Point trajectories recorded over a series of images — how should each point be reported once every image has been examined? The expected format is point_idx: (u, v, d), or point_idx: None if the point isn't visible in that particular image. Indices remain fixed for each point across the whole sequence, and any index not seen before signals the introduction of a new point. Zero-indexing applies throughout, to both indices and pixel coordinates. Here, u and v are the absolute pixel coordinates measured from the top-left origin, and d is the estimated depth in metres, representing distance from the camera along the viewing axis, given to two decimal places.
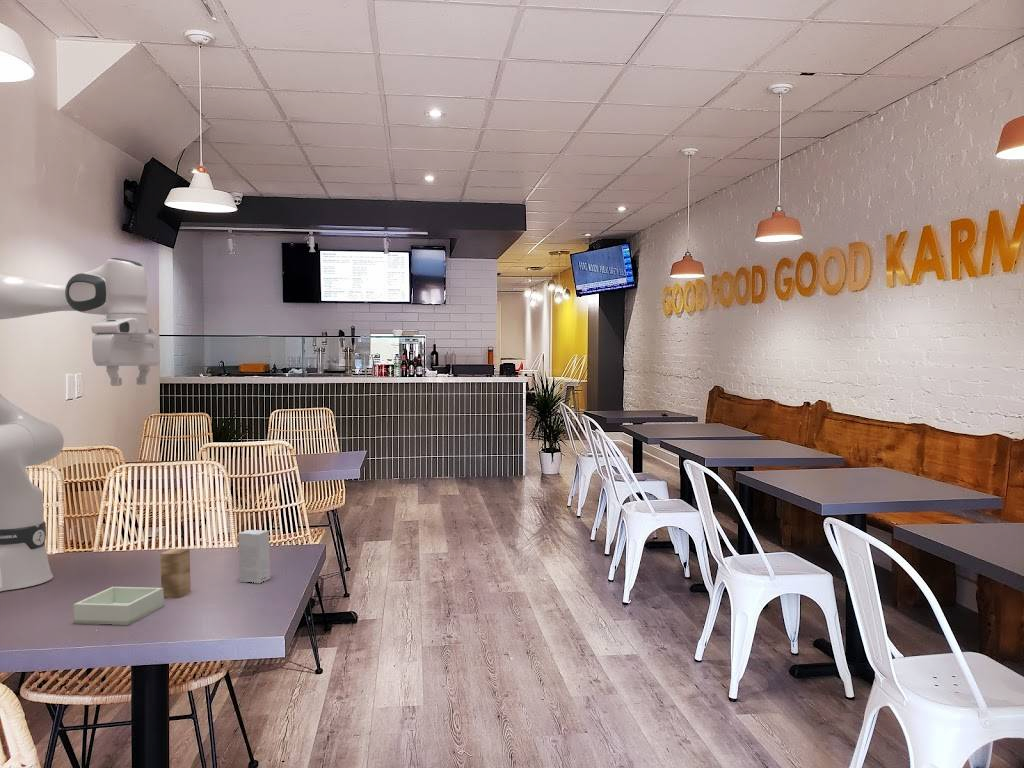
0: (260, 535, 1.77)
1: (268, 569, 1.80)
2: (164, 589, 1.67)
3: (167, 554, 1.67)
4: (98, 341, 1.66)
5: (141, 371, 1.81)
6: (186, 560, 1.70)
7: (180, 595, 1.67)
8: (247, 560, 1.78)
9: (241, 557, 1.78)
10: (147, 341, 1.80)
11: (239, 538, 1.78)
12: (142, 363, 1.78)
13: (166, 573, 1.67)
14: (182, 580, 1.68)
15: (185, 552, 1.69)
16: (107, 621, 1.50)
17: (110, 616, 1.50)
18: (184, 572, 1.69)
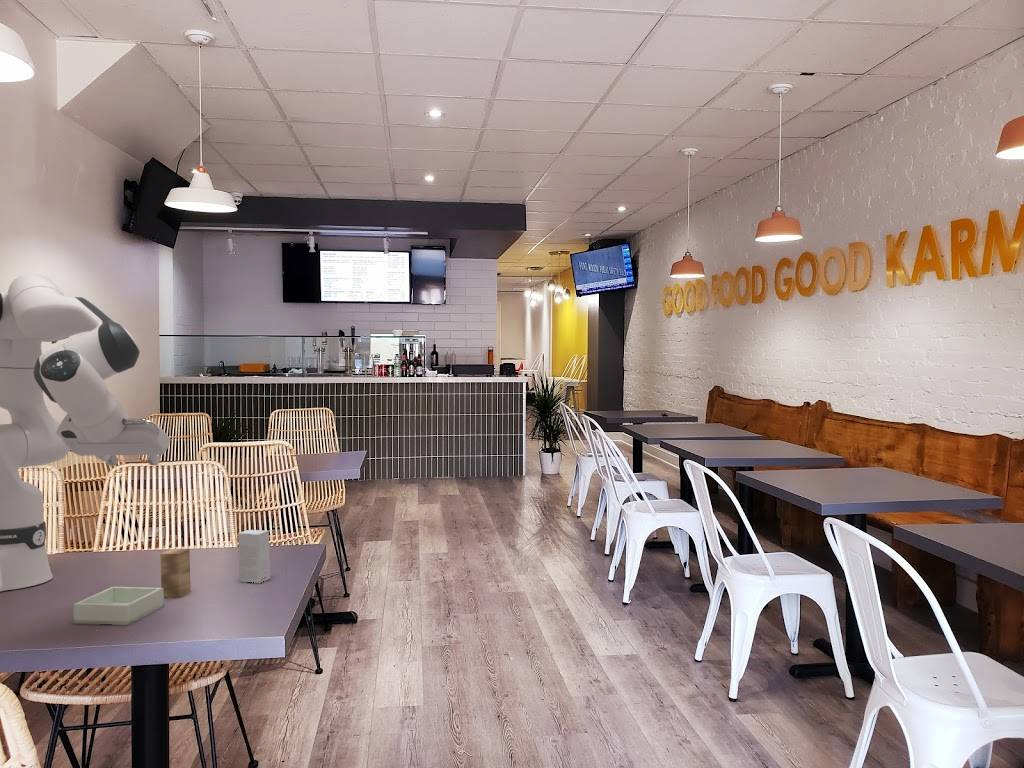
0: (260, 535, 1.77)
1: (268, 569, 1.80)
2: (164, 589, 1.67)
3: (167, 554, 1.67)
4: None
5: None
6: (186, 560, 1.70)
7: (180, 595, 1.67)
8: (247, 560, 1.78)
9: (241, 557, 1.78)
10: (128, 437, 1.47)
11: (239, 538, 1.78)
12: (131, 454, 1.51)
13: (166, 573, 1.67)
14: (182, 580, 1.68)
15: (185, 552, 1.69)
16: (107, 621, 1.50)
17: (110, 616, 1.50)
18: (184, 572, 1.69)
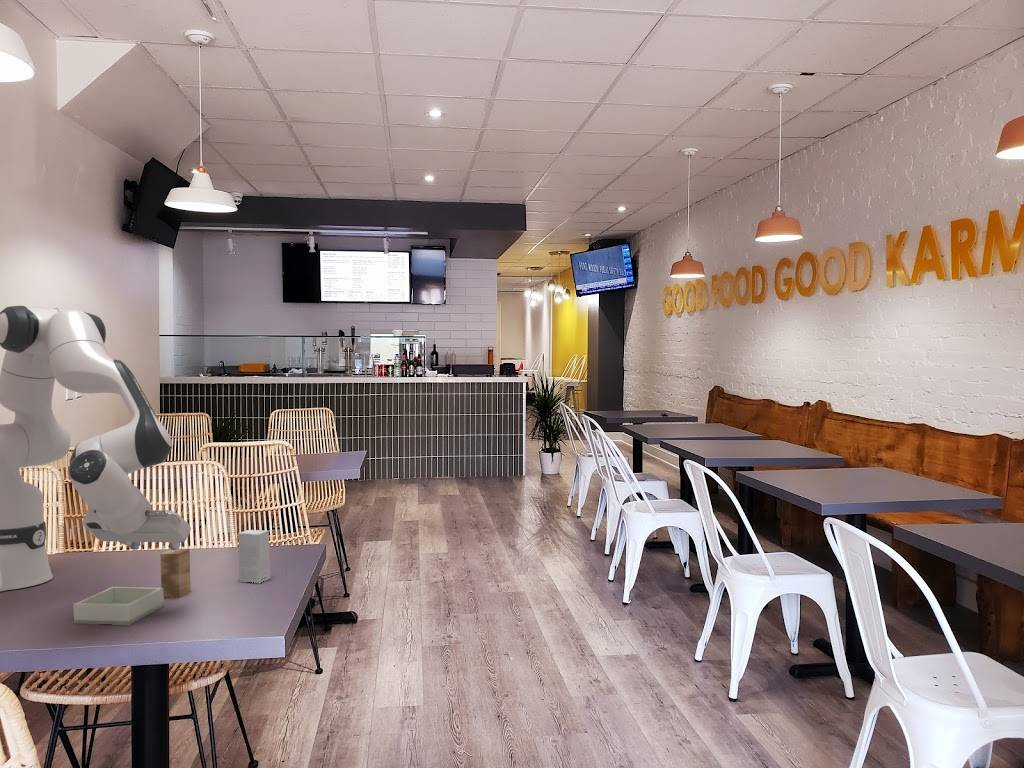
0: (260, 535, 1.77)
1: (268, 569, 1.80)
2: (164, 589, 1.67)
3: (167, 554, 1.67)
4: None
5: None
6: (186, 560, 1.70)
7: (180, 595, 1.67)
8: (247, 560, 1.78)
9: (241, 557, 1.78)
10: (151, 528, 1.53)
11: (239, 538, 1.78)
12: (153, 541, 1.57)
13: (166, 573, 1.67)
14: (182, 580, 1.68)
15: (185, 552, 1.69)
16: (107, 621, 1.50)
17: (110, 616, 1.50)
18: (184, 572, 1.69)
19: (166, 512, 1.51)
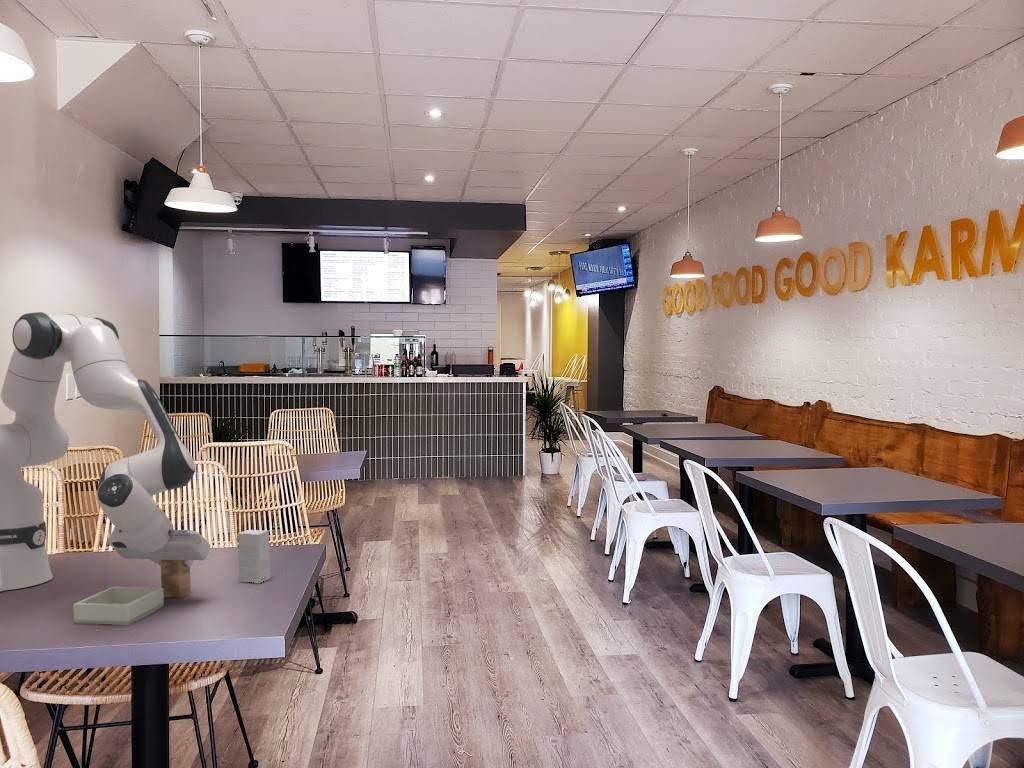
0: (260, 535, 1.77)
1: (268, 569, 1.80)
2: (164, 589, 1.67)
3: None
4: None
5: None
6: None
7: (180, 595, 1.67)
8: (247, 560, 1.78)
9: (241, 557, 1.78)
10: (173, 546, 1.60)
11: (239, 538, 1.78)
12: (175, 559, 1.64)
13: (166, 573, 1.67)
14: (182, 580, 1.68)
15: None
16: (107, 621, 1.50)
17: (110, 616, 1.50)
18: (184, 572, 1.69)
19: (188, 532, 1.59)
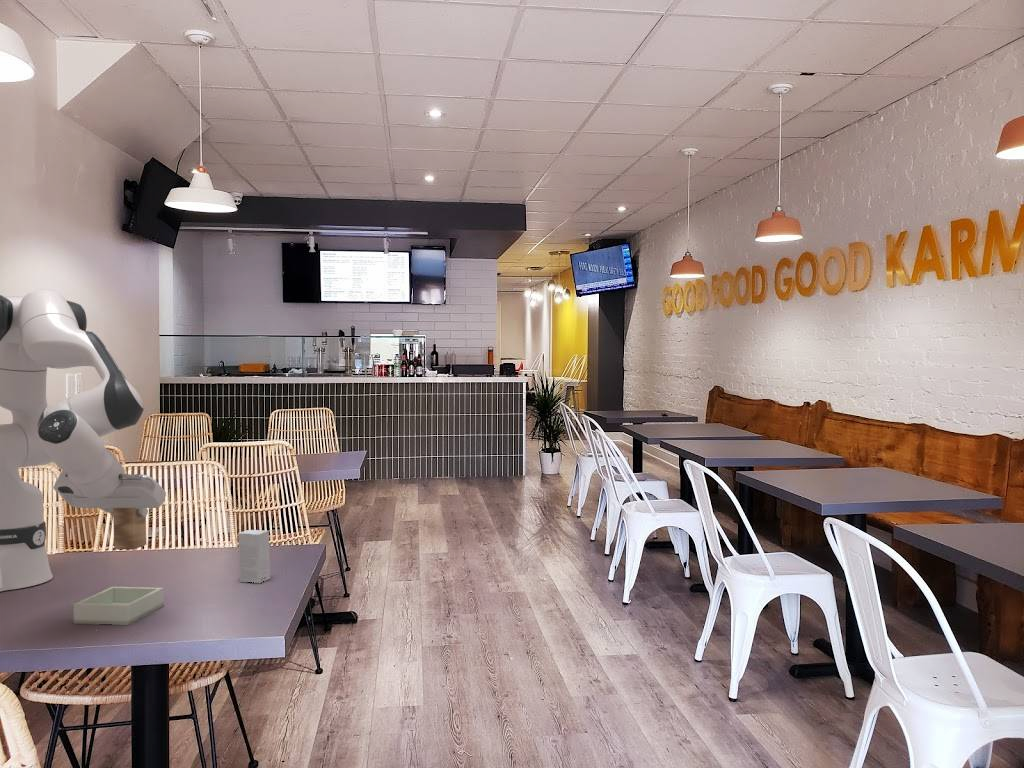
0: (260, 535, 1.77)
1: (268, 569, 1.80)
2: (117, 541, 1.56)
3: None
4: None
5: None
6: None
7: (134, 547, 1.56)
8: (247, 560, 1.78)
9: (241, 557, 1.78)
10: (125, 492, 1.49)
11: (239, 538, 1.78)
12: (127, 507, 1.53)
13: (119, 523, 1.56)
14: (136, 531, 1.57)
15: None
16: (107, 621, 1.50)
17: (110, 616, 1.50)
18: (138, 523, 1.57)
19: (140, 475, 1.48)
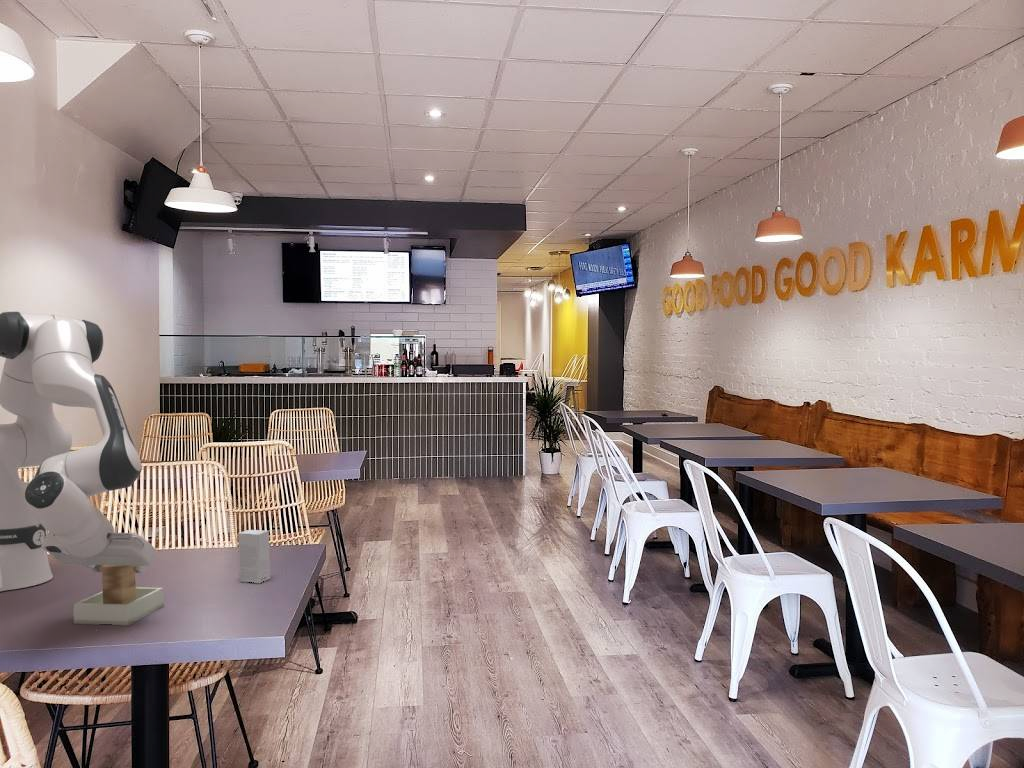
0: (260, 535, 1.77)
1: (268, 569, 1.80)
2: None
3: (109, 567, 1.54)
4: None
5: None
6: (131, 573, 1.56)
7: None
8: (247, 560, 1.78)
9: (241, 557, 1.78)
10: (113, 551, 1.47)
11: (239, 538, 1.78)
12: (116, 564, 1.51)
13: (108, 588, 1.54)
14: (126, 595, 1.55)
15: None
16: (107, 621, 1.50)
17: (110, 616, 1.50)
18: (128, 587, 1.55)
19: (129, 535, 1.45)
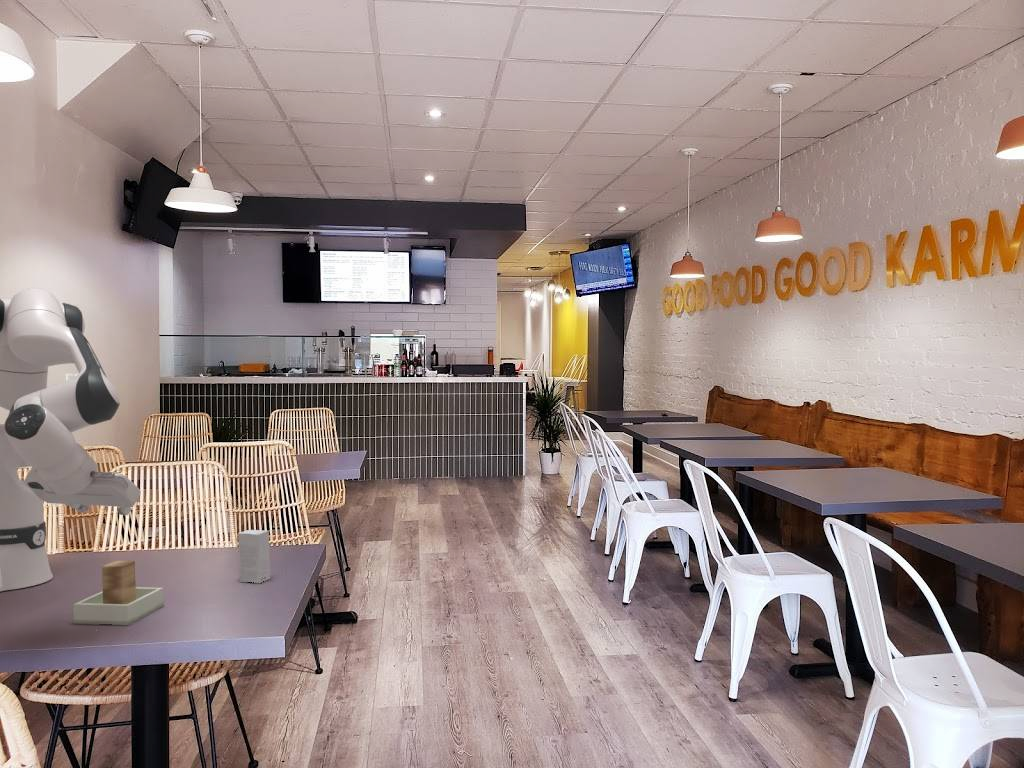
0: (260, 535, 1.77)
1: (268, 569, 1.80)
2: None
3: (109, 567, 1.54)
4: None
5: None
6: (131, 573, 1.56)
7: None
8: (246, 560, 1.78)
9: (241, 557, 1.78)
10: (97, 490, 1.43)
11: (239, 538, 1.78)
12: (100, 505, 1.48)
13: (108, 588, 1.54)
14: (126, 595, 1.55)
15: (129, 564, 1.56)
16: (107, 621, 1.50)
17: (110, 616, 1.50)
18: (128, 587, 1.55)
19: (112, 474, 1.42)
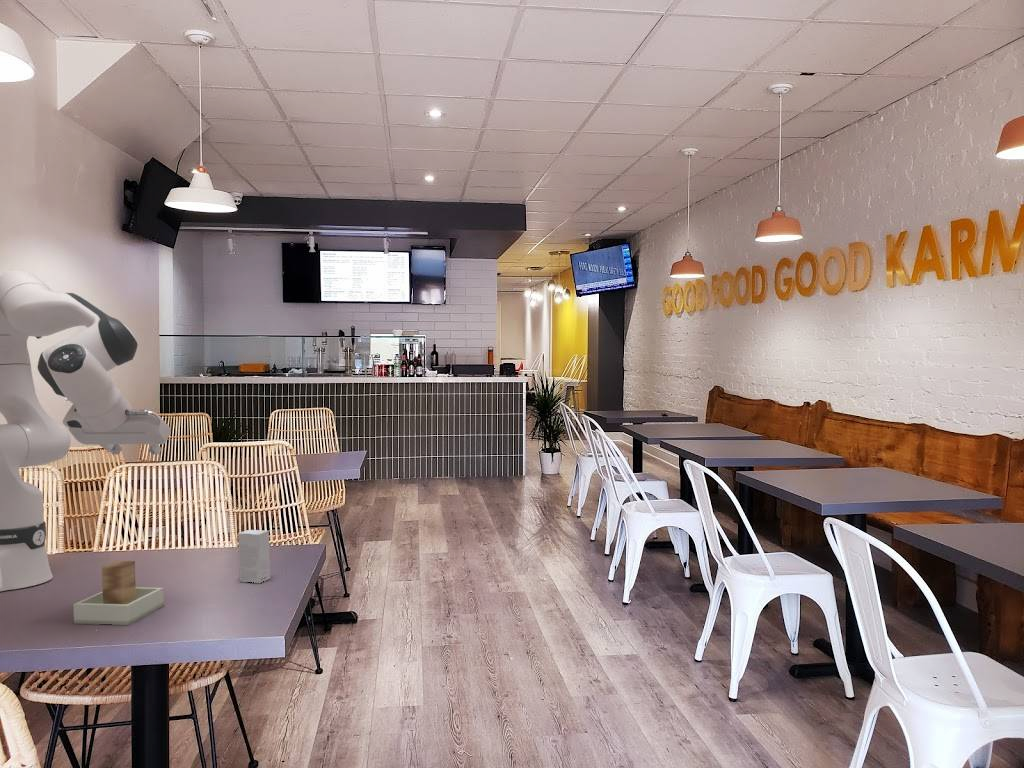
0: (260, 535, 1.77)
1: (268, 569, 1.80)
2: None
3: (109, 567, 1.54)
4: None
5: None
6: (131, 573, 1.56)
7: None
8: (247, 560, 1.78)
9: (241, 557, 1.78)
10: (131, 427, 1.54)
11: (239, 538, 1.78)
12: (133, 443, 1.58)
13: (108, 588, 1.54)
14: (126, 595, 1.55)
15: (129, 564, 1.56)
16: (107, 621, 1.50)
17: (110, 616, 1.50)
18: (128, 587, 1.55)
19: (146, 411, 1.53)
